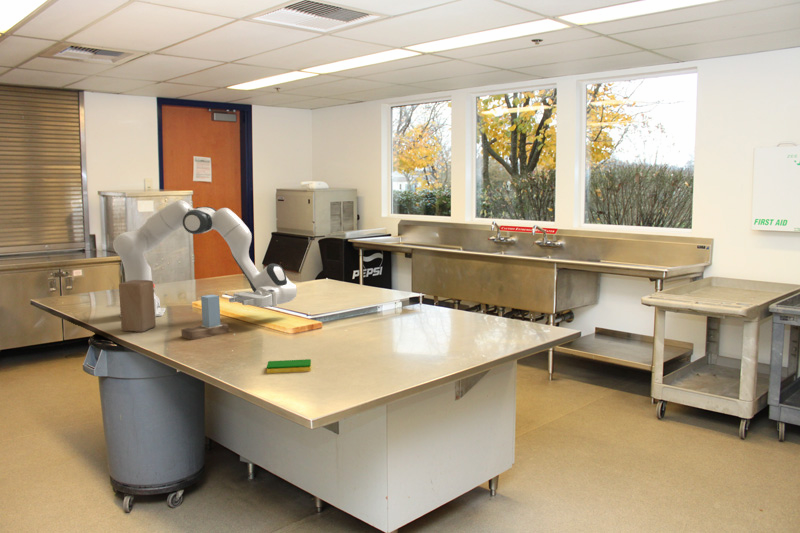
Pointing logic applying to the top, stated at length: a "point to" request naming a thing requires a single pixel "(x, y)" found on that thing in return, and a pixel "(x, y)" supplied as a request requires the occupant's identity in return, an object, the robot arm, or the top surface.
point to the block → (137, 305)
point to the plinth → (203, 331)
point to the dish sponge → (289, 366)
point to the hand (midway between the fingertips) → (236, 301)
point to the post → (210, 310)
